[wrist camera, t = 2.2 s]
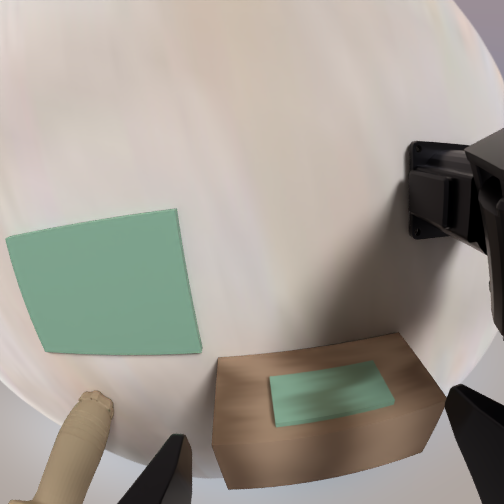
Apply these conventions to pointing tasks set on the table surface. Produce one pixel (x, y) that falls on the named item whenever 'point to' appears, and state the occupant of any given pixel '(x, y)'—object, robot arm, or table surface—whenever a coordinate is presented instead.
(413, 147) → the robot arm
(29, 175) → the table surface
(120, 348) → the mat
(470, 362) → the table surface
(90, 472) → the handle
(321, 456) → the cabinet
